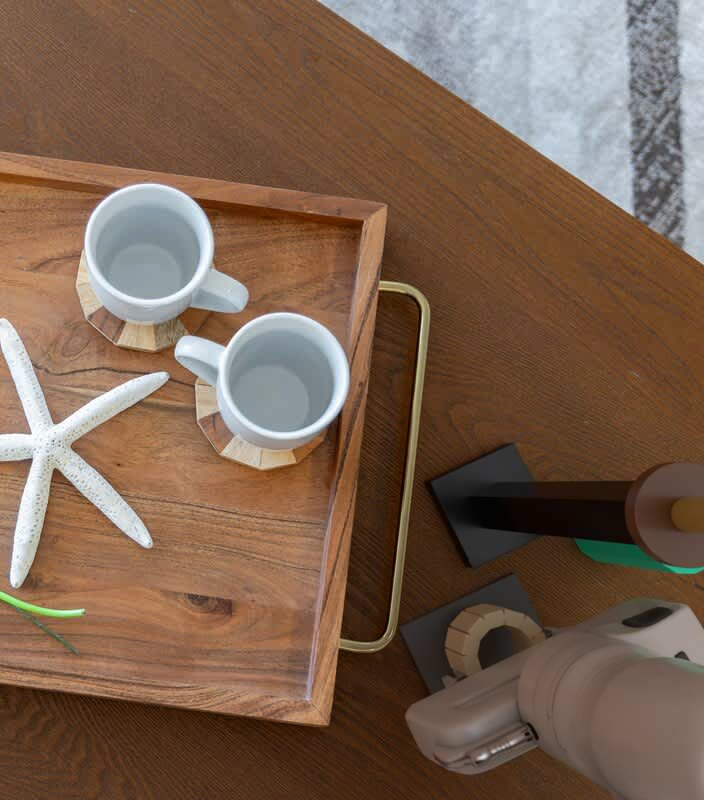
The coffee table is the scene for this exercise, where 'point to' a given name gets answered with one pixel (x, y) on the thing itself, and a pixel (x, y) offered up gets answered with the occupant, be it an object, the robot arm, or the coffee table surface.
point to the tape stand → (570, 509)
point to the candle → (626, 556)
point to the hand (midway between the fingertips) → (499, 660)
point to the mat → (432, 627)
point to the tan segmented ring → (477, 624)
